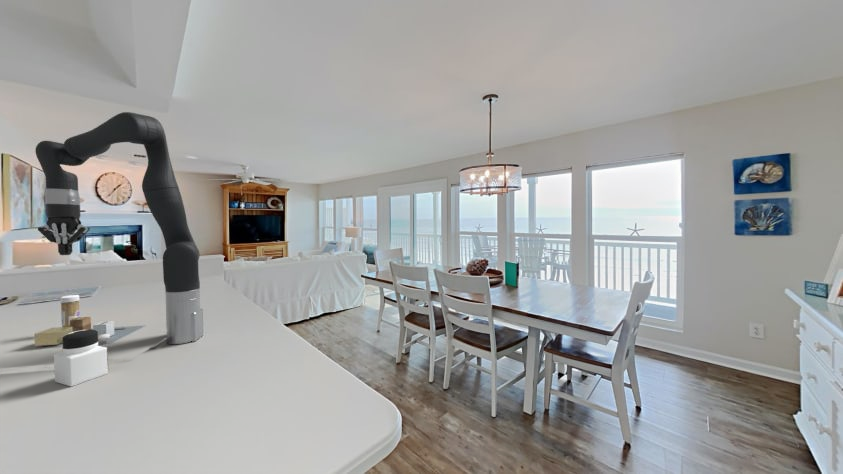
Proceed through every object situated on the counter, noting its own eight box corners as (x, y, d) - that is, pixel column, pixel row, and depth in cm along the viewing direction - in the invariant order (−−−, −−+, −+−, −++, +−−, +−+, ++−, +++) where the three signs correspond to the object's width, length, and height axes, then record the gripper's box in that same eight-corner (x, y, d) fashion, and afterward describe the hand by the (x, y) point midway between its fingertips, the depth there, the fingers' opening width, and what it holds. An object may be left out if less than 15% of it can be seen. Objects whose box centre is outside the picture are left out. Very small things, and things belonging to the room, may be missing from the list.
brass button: (72, 337, 100) (72, 326, 100) (57, 344, 95) (56, 332, 95) (51, 339, 99) (51, 327, 99) (34, 346, 93) (34, 333, 93)
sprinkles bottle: (78, 333, 110) (76, 296, 109) (59, 335, 107) (57, 298, 107) (82, 329, 114) (81, 294, 113) (64, 332, 111) (63, 295, 111)
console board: (146, 329, 114) (146, 316, 114) (110, 348, 97) (109, 333, 97) (80, 333, 110) (79, 320, 109) (30, 354, 92) (29, 339, 92)
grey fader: (114, 334, 104) (113, 320, 104) (106, 337, 101) (106, 324, 101) (101, 335, 104) (101, 321, 103) (93, 338, 100) (93, 324, 100)
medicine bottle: (108, 373, 81) (107, 329, 80) (70, 387, 74) (68, 338, 73) (92, 369, 83) (91, 325, 82) (54, 382, 76) (52, 334, 76)
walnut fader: (91, 329, 109) (90, 316, 109) (82, 332, 106) (82, 319, 106) (79, 329, 109) (78, 317, 108) (70, 333, 105) (69, 320, 105)
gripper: (96, 204, 107) (98, 253, 108) (48, 203, 104) (51, 254, 105) (78, 203, 100) (80, 255, 101) (26, 202, 97) (29, 256, 98)
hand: (65, 254), depth 103 cm, fingers closed
